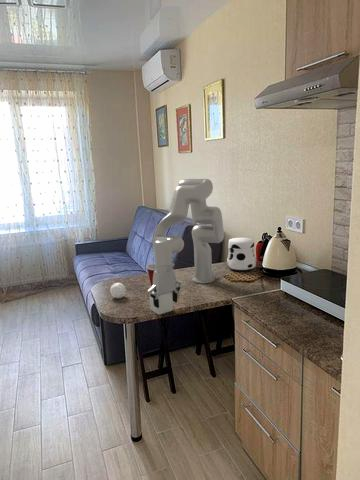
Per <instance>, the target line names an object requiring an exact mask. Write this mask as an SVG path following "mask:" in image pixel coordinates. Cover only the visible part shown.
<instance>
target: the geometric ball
mask: <svg viewBox="0 0 360 480" xmlns="http://www.w3.org/2000/svg"><path fill="white" fill-rule="evenodd" d="M109 291H110V295H111V296H112V297H113V298H115V299H118V300H119V299H122V298H123V297H124V296H125V294H126V286H125V285H124V284H123V283H121V282H116V283H113V284H112V285H111V286H110V290H109Z"/></svg>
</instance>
